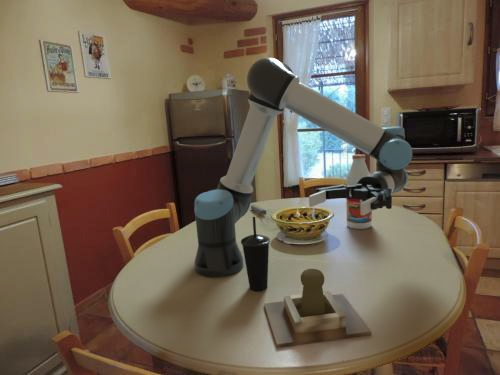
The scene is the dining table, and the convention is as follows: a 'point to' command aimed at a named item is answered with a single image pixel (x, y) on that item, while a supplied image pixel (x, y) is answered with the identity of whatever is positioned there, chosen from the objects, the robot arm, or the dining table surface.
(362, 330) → the well board
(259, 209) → the kitchen whisk
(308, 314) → the olive green peg doll
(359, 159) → the fruit juice
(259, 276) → the drinking cup
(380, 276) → the dining table surface
